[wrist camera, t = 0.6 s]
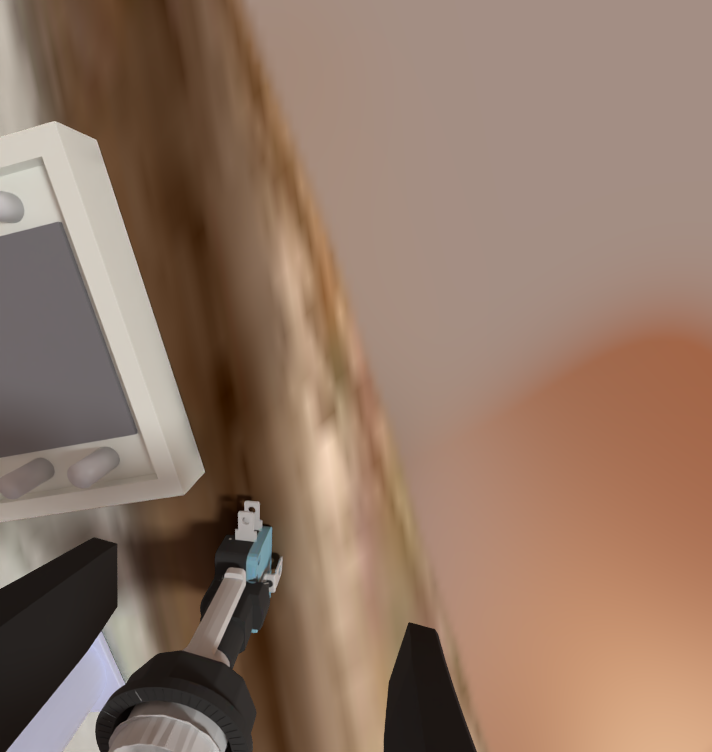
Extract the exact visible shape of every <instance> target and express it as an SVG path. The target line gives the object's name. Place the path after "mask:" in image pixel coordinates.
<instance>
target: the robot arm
mask: <svg viewBox="0 0 712 752" xmlns="http://www.w3.org/2000/svg"><path fill="white" fill-rule="evenodd" d="M116 608H117V544H116V543H113V542H109V541H105V540H101V539H98V538H92V539H90V540H88V541H86V542H85V543H83V544H81V545H79V546H77V547H75V548H74V549H72V550H70V551H68V552H66V553H65V554H63V555H61V556H59V557H57V558H56V559H54V560H52V561H50V562H48V563H47V564H45V565H43V566H41V567H39V568H38V569H36V570H34V571H32V572H30V573H29V574H27V575H25V576H23V577H21V578H20V579H18V580H16V581H14V582H12V583H10V584H9V585H7V586H5V587H3V588H1V589H0V752H63V751H64V749H65V748H66V746H67V745H68V743H69V742H70V740H71V739H72V737H73V736H74V734H75V733H76V731H77V730H78V728H79V727H80V725H81V724H82V722H83V721H84V719H85V718H86V716H87V715H88V714H89V712H98V711H101V710H102V708H103V707H104V705H105V704H106V702H107V701H108V699H109V698H110V697H111V695H112V694H113V693H114V692H115V691H116V690H118V689H119V688H120V687H122V686H123V685H125V682H124V680H123V678H122V676H121V673H120V671H119V669H118V667H117V665H116V662H115V660H114V658H113V656H112V653H111V651H110V649H109V647H108V644H107V642H106V640H105V638H104V635H103V633H102V629H103V628H104V626H105V625H106V623H107V621H108V620H109V618H110V617H111V615H112V614H113V612H114V611H115V609H116ZM384 752H477V751H476V749H475V746H474V743H473V740H472V738H471V735H470V732H469V730H468V727H467V724H466V721H465V719H464V716H463V713H462V710H461V707H460V704H459V701H458V698H457V695H456V692H455V689H454V686H453V683H452V680H451V677H450V674H449V671H448V667H447V664H446V661H445V657H444V654H443V650H442V647H441V643H440V640H439V636H438V633H437V632H436V630H435V629H432V628H428V627H425V626H421V625H417V624H413V623H410V622H409V623H408V626H407V629H406V632H405V635H404V638H403V641H402V644H401V647H400V650H399V653H398V656H397V659H396V662H395V665H394V668H393V671H392V674H391V677H390V680H389V687H388V698H387V708H386V720H385V732H384Z"/></svg>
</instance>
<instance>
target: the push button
mask: <svg viewBox="0 0 712 752" xmlns="http://www.w3.org/2000/svg"><path fill="white" fill-rule="evenodd" d="M249 507H254V508H255V510H256V512H254V513H253V512H250V511H249V509H248V508H249ZM271 555H272V527H268V526H262V520H260V503H259V502H258V501H248V500H246V501H245V502H244V511H239V512H238V529H235V534H234V535H226V536H225V538H224V540H223V541H222V543H221V545H220V546H219V548H218V549H217V551H216V554H215V577H214V580H213V581H212V583H211V585H210V586H209V588H208V590H207V592H206V594H205V595H204V597H203V599H202V602H201V606H200V612H201V618H200V621H201V623H200V624H199V626H198V628H197V630H196V632H195V634H194V636H193V638H192V640H191V642H190V643H189V645H188V646H187V647H186V648H185V649H184V650H182V651H173V652H165V653H159V654H157V655H155V656H154V657H153V658H152V659H150V660H149V661H148V662H147V663H146V664H144V665H143V666H142V667H141V668H139V669H138V670H137V671H136V672H135V673H133V674H132V675H131V677H130V678H129V680H128V681H127V683H126V684H125V685H123V686H122V687H120V688H119V689H118V690H116V691H115V692H114V693H113V694H112V695H111V697H110V698H109V699H108V701H107V702H106V704H105V705H104V707H103V708H102V710H101V712H100V714H99V716H98V718H97V722H96V729H95V733H96V740H97V744H98V747H99V750H100V752H252V750H253V742H252V737H251V731H252V728H253V724H254V721H255V717H256V709H255V706H254V704H253V701H252V699H251V696H250V694H249V691H248V689H247V686H246V684H245V681H244V679H243V678H242V677H241V676H240V675H238V674H237V673H236V672H235V671H234V670H232V669H233V666H234V664H235V661H236V659H237V656H238V653H241V652H243V651H244V650H245V648H246V645H247V643H248V640H249V637H250V635H251V632H253V633H257V631H258V630H260V629H261V627H262V625H263V622H264V620H265V617H266V614H267V611H268V608H269V605H270V596H271V592H275V590H276V587H277V585H278V582H279V579H280V576H281V572H282V557H280V559H279V562H278V565H277V567H276V570H275V573H274V574H271Z"/></svg>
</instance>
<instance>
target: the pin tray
mask: <svg viewBox="0 0 712 752" xmlns="http://www.w3.org/2000/svg"><path fill="white" fill-rule="evenodd" d="M204 473H205V470H204V467H203V464H202V461H201V458H200V455H199V452H198V449H197V446H196V443H195V440H194V437H193V433H192V430H191V427H190V424H189V421H188V418H187V415H186V412H185V409H184V406H183V403H182V400H181V397H180V394H179V391H178V388H177V384H176V381H175V378H174V375H173V372H172V369H171V366H170V363H169V360H168V357H167V354H166V351H165V348H164V345H163V342H162V339H161V336H160V332H159V329H158V326H157V323H156V320H155V317H154V314H153V311H152V308H151V305H150V302H149V299H148V296H147V293H146V290H145V287H144V284H143V280H142V277H141V274H140V271H139V268H138V265H137V262H136V259H135V256H134V253H133V250H132V247H131V244H130V241H129V238H128V235H127V232H126V228H125V225H124V222H123V219H122V216H121V213H120V210H119V207H118V204H117V201H116V198H115V195H114V192H113V189H112V186H111V183H110V180H109V176H108V173H107V170H106V167H105V164H104V161H103V158H102V155H101V152H100V149H99V146H98V143H97V140H96V139H93V138H91V137H89V136H87V135H85V134H82V133H80V132H78V131H76V130H74V129H71V128H69V127H67V126H65V125H63V124H60V123H58V122H56V121H53V122H50V123H46V124H43V125H39V126H36V127H32V128H29V129H25V130H22V131H18V132H15V133H11V134H8V135H5V136H1V137H0V522H6V521H13V520H19V519H26V518H33V517H40V516H46V515H53V514H60V513H66V512H73V511H80V510H86V509H93V508H100V507H107V506H113V505H120V504H127V503H133V502H140V501H147V500H154V499H160V498H167V497H174V496H180V495H185V494H186V493H187V491H188V490H189V489H190V488H191V487H192V486H193V485H194V484H195V483H196V481H197V480H198V479H199V478H200V477H201V476H202V475H203V474H204Z"/></svg>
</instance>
